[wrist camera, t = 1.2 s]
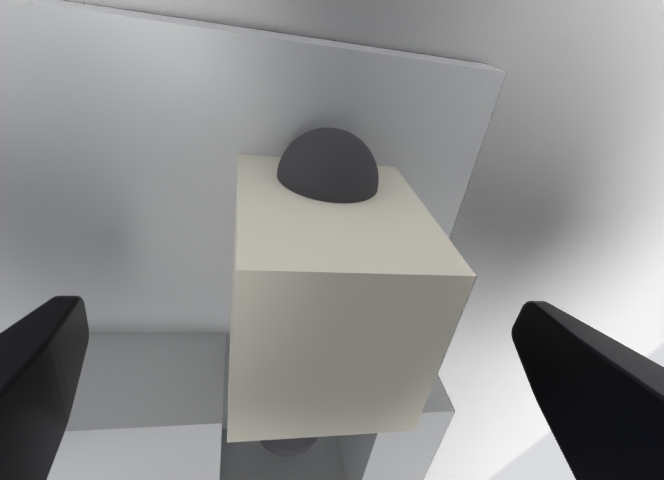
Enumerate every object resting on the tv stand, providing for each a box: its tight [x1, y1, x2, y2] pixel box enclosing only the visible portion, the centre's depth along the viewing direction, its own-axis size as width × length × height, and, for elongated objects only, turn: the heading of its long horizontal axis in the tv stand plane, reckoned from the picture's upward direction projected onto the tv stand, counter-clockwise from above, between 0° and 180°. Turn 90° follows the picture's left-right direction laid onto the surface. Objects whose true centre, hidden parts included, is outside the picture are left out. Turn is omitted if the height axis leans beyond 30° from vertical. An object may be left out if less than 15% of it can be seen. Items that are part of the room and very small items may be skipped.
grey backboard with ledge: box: [0, 0, 507, 480], centre depth 10 cm, size 14×18×6 cm
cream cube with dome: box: [227, 127, 477, 456], centre depth 11 cm, size 10×4×4 cm, turn 171°
